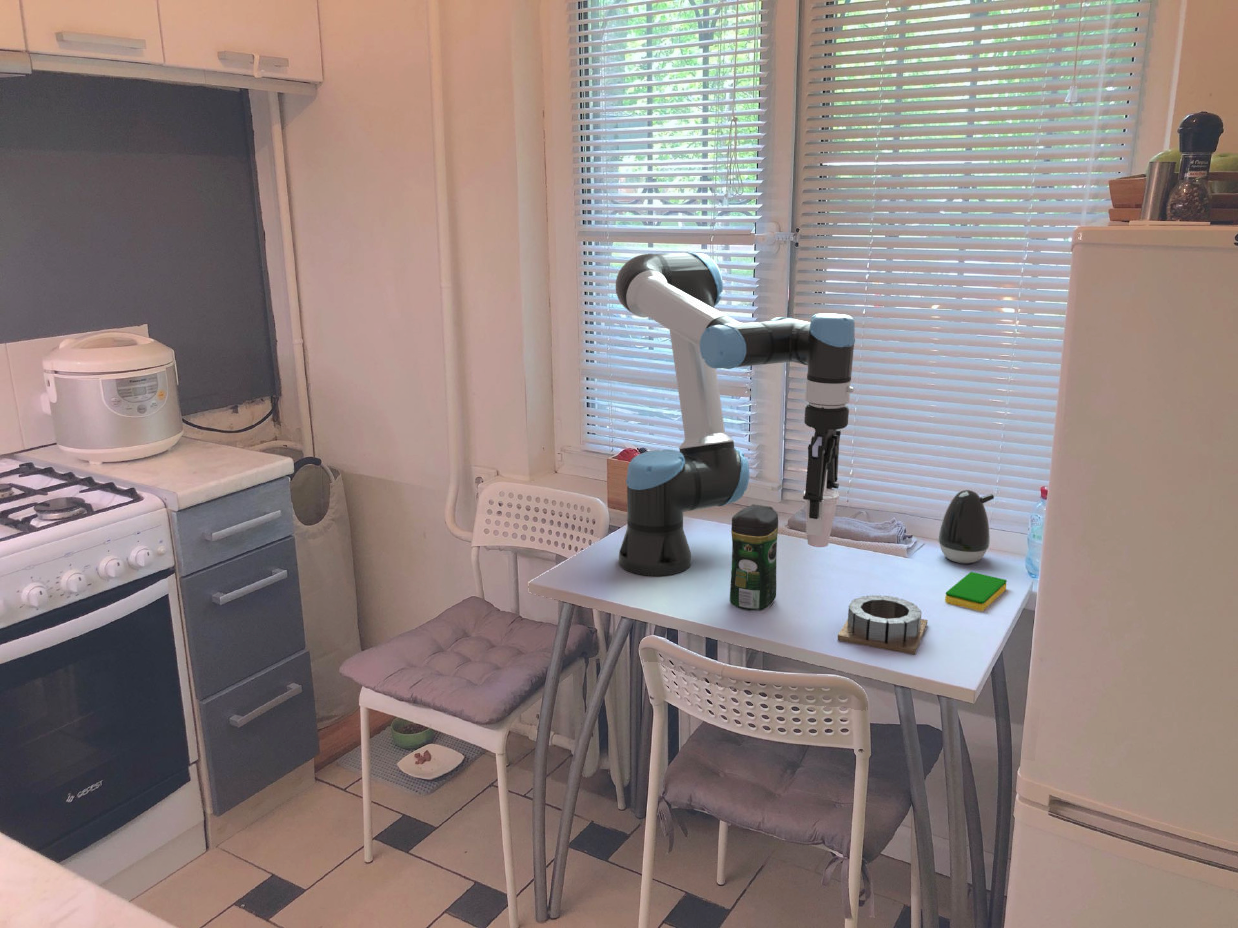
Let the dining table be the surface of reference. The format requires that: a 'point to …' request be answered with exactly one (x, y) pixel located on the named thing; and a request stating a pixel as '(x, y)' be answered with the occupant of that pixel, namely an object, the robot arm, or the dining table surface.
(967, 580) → the dish sponge
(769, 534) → the coffee jar
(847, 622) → the stone fire pit ring
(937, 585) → the dining table surface
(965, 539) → the pump dispenser
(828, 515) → the smoothie
